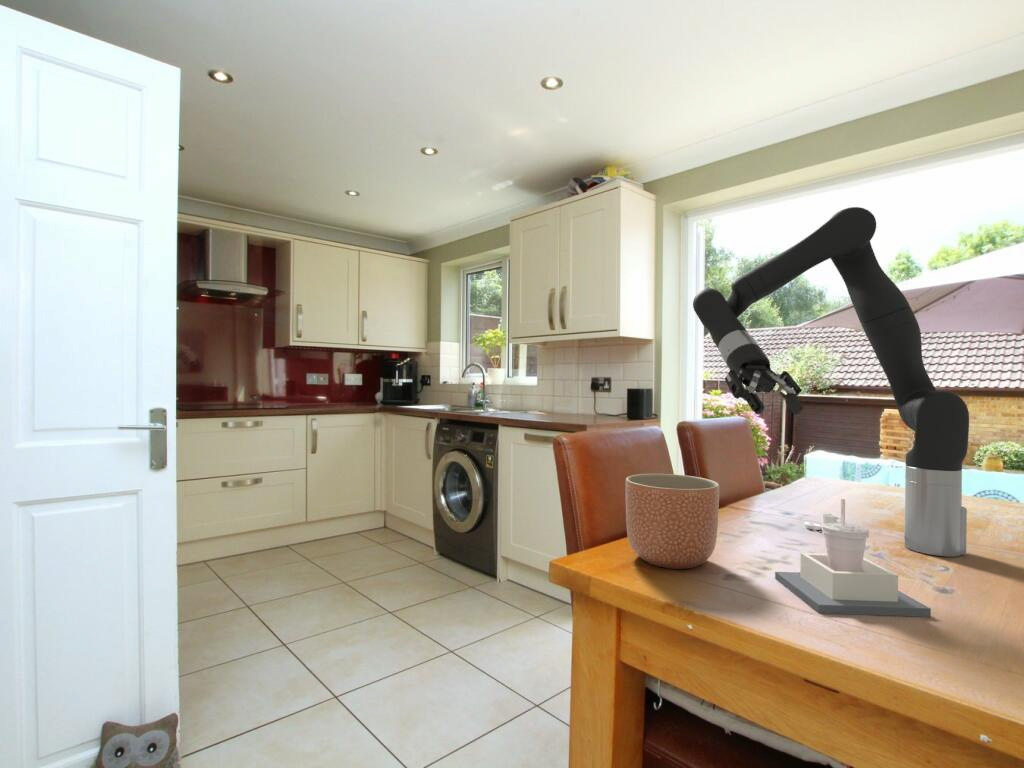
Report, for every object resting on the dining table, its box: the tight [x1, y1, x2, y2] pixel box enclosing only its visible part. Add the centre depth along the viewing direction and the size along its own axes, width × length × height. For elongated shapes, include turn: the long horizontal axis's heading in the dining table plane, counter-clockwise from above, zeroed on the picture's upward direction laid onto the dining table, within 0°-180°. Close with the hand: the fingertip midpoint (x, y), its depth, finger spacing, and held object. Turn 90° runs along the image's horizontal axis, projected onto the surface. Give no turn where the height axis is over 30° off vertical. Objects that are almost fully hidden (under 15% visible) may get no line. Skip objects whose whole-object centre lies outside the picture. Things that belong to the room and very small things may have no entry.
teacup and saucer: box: [803, 513, 841, 531], centre depth 125 cm, size 9×8×4 cm
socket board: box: [774, 552, 932, 618], centre depth 84 cm, size 16×14×5 cm
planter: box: [625, 473, 720, 570], centre depth 100 cm, size 17×17×15 cm
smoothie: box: [821, 498, 870, 572], centre depth 85 cm, size 6×6×14 cm
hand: (780, 411), depth 102 cm, fingers open, 8 cm apart
